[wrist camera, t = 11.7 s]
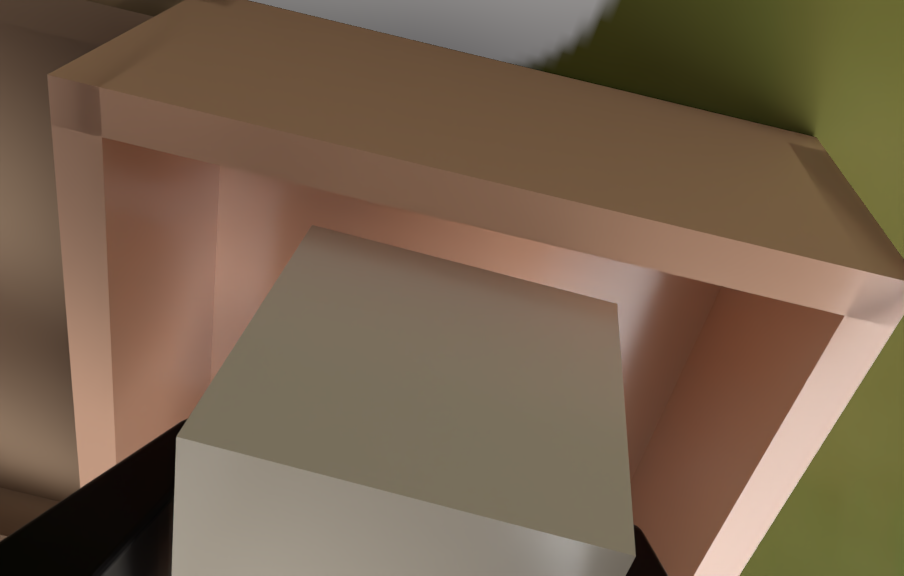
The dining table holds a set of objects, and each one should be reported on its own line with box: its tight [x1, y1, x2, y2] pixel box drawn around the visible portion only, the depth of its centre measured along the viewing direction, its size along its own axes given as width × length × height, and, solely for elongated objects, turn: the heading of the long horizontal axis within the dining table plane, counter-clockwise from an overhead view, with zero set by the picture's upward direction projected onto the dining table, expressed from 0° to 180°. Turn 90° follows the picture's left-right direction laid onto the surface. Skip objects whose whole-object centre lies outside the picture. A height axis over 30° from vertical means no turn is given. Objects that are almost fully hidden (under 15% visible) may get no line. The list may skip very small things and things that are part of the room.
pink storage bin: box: [47, 0, 904, 576], centre depth 14 cm, size 12×10×4 cm
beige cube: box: [172, 225, 636, 576], centre depth 9 cm, size 4×4×4 cm
